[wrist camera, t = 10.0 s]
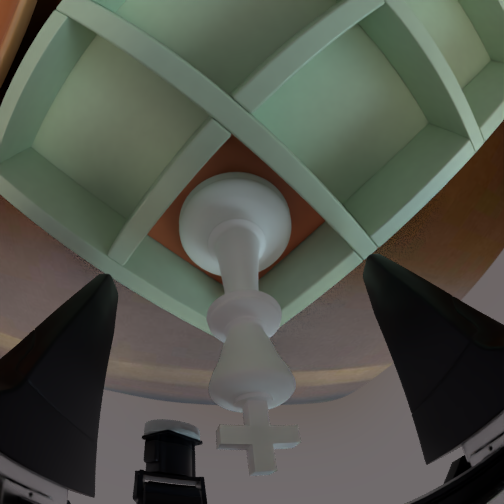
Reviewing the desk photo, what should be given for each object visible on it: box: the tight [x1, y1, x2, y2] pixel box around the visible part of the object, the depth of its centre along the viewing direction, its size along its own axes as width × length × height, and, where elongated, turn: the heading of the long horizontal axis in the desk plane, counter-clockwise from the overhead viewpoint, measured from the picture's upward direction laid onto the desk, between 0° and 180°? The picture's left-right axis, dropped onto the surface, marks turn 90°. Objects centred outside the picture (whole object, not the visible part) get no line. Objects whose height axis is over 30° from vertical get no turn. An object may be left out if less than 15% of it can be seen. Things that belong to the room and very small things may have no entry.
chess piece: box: [179, 172, 301, 476], centre depth 8 cm, size 5×5×10 cm
